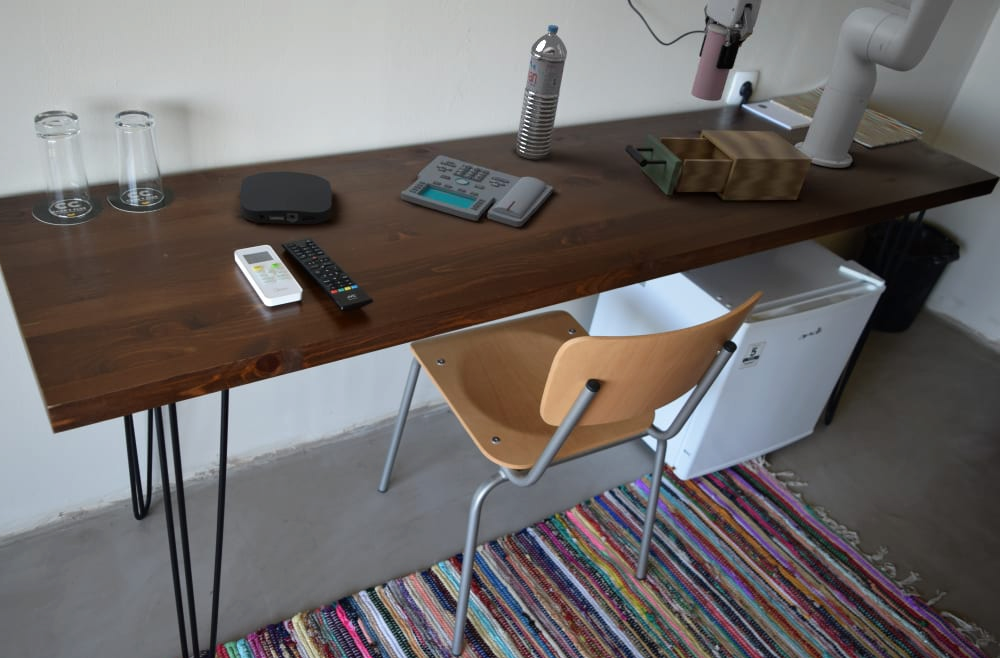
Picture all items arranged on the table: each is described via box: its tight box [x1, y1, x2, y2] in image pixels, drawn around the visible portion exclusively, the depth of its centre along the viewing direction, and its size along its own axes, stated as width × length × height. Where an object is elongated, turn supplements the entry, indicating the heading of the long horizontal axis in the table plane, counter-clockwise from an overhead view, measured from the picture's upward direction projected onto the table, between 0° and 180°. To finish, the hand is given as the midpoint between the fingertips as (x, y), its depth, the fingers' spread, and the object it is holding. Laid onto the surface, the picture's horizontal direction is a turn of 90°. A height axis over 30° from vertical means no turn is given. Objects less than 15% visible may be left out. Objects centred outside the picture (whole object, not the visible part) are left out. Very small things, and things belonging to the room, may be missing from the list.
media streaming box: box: [239, 171, 333, 225], centre depth 134 cm, size 15×15×3 cm
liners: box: [690, 23, 737, 102], centre depth 147 cm, size 6×6×12 cm
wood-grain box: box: [699, 129, 812, 201], centre depth 161 cm, size 17×14×9 cm
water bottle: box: [515, 24, 568, 161], centre depth 157 cm, size 7×7×25 cm
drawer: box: [624, 134, 734, 196], centre depth 157 cm, size 21×13×7 cm, turn 104°
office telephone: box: [400, 154, 554, 228], centre depth 145 cm, size 23×3×20 cm
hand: (715, 61), depth 147 cm, fingers closed on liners, 5 cm apart
